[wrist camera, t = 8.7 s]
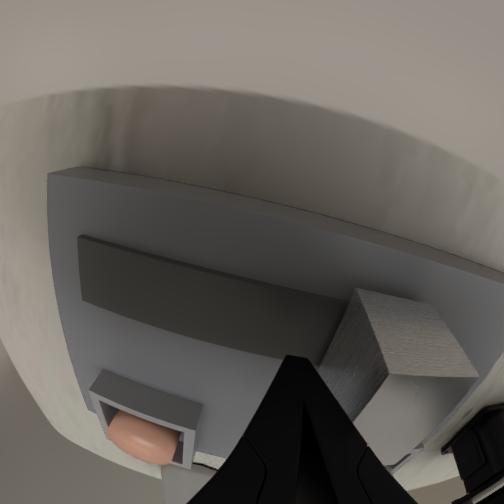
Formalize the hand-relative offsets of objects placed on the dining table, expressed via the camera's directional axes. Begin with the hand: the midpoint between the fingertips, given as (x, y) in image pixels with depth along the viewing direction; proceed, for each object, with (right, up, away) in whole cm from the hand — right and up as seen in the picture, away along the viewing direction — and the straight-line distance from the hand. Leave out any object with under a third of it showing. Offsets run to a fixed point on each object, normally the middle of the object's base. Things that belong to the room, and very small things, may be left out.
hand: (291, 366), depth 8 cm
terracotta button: (-7, -6, +5) cm, 10 cm away
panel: (0, -2, +5) cm, 6 cm away
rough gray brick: (+3, 0, +1) cm, 3 cm away
